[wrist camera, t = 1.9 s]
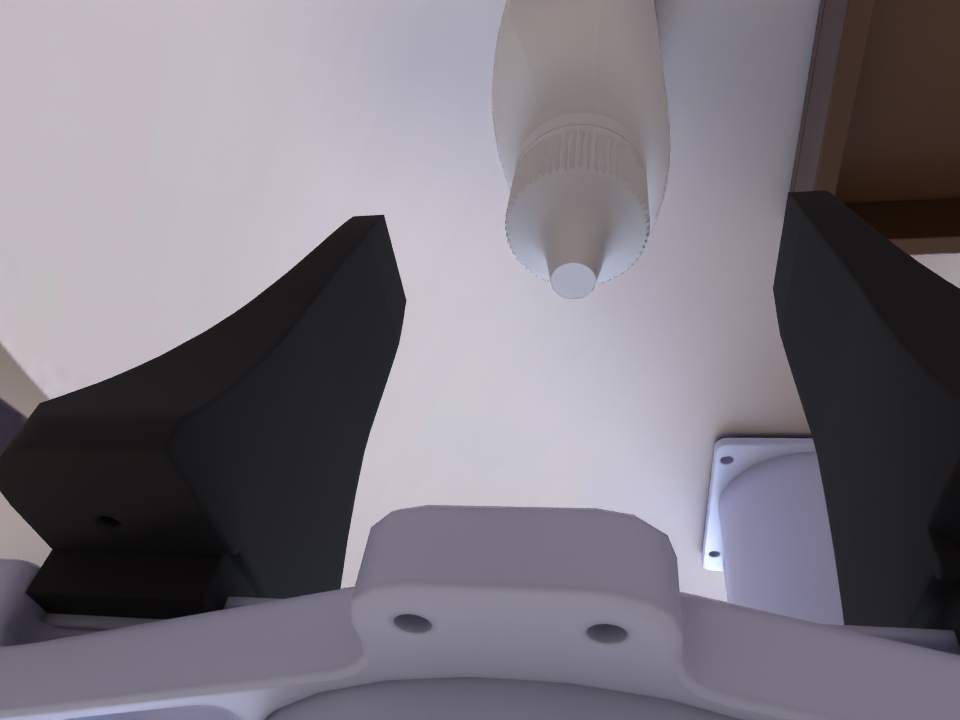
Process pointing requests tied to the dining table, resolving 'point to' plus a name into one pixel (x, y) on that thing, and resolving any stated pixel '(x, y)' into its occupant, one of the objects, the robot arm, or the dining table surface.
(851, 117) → the tray
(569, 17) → the eye dropper bottle
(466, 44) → the dining table surface
